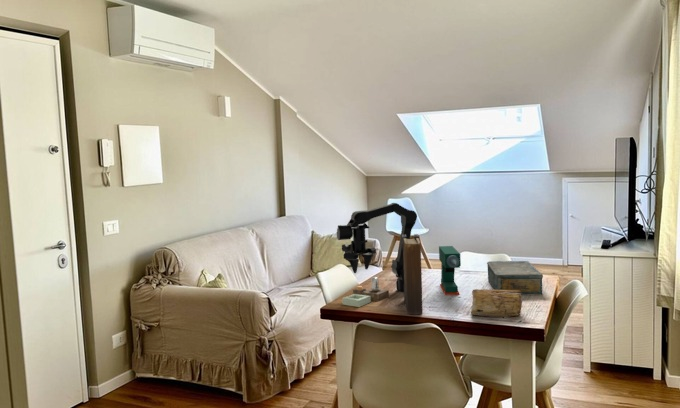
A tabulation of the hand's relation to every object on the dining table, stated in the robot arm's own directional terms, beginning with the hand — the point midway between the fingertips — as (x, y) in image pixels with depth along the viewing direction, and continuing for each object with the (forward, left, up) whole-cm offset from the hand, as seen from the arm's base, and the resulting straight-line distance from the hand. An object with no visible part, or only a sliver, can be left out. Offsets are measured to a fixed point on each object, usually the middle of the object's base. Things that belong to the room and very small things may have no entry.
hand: (360, 271), depth 257 cm
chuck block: (-8, 0, -12) cm, 14 cm away
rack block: (-6, +13, -12) cm, 19 cm away
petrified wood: (-65, -1, -12) cm, 66 cm away
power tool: (-35, -23, -12) cm, 44 cm away
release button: (+1, 0, -11) cm, 11 cm away
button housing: (+1, 0, -12) cm, 12 cm away
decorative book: (-31, +6, -12) cm, 34 cm away
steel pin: (-8, 0, -12) cm, 14 cm away
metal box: (-55, -48, -12) cm, 74 cm away
